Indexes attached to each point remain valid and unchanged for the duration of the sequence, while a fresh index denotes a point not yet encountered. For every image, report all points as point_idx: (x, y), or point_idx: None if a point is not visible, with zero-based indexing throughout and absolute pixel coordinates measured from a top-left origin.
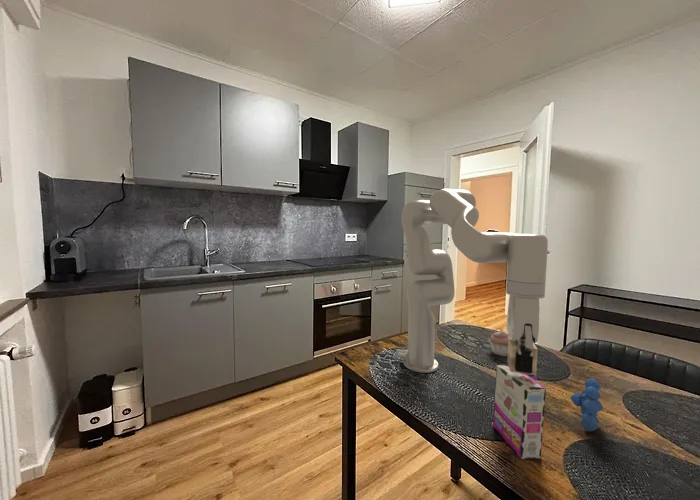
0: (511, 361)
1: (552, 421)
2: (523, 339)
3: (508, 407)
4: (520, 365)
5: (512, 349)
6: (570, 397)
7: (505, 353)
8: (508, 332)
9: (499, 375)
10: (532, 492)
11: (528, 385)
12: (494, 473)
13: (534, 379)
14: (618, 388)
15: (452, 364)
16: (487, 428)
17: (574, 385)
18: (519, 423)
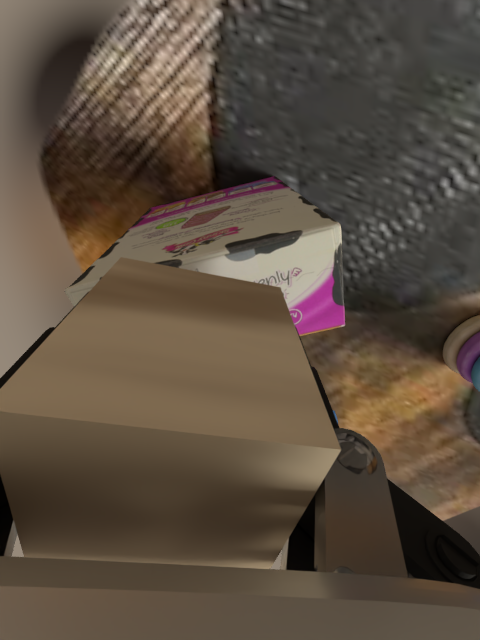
0: (88, 293)
1: (307, 338)
2: (308, 543)
3: (201, 214)
4: (41, 337)
5: (22, 375)
6: (333, 411)
7: None
8: (187, 615)
9: (288, 219)
10: (51, 192)
11: None
12: (74, 107)
13: (459, 371)
14: (412, 487)
15: None
16: (263, 152)
17: (436, 433)
18: (143, 226)
